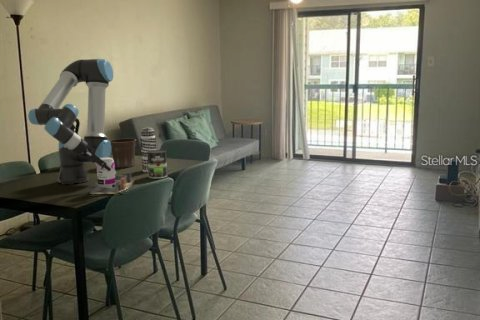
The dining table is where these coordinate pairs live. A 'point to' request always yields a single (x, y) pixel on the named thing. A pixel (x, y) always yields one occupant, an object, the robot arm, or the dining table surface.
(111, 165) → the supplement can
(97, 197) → the dining table surface
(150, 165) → the coffee can
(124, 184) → the beige shallow tray
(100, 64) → the robot arm
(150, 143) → the decorative candle
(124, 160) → the plant pot
